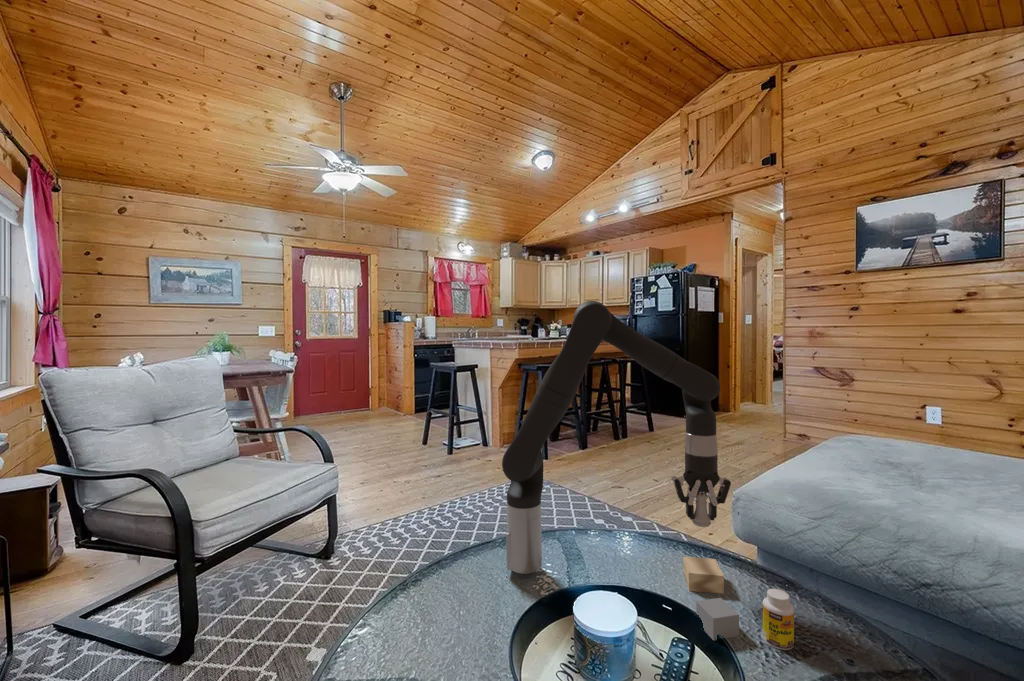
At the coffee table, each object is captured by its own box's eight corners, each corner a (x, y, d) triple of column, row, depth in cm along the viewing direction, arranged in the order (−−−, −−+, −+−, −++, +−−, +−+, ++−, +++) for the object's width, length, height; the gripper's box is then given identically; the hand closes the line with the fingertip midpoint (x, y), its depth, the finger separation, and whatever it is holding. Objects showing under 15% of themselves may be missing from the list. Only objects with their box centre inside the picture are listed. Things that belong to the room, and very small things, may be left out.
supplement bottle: (764, 648, 90) (764, 598, 90) (760, 631, 95) (760, 583, 95) (797, 655, 88) (797, 604, 88) (791, 637, 93) (790, 589, 93)
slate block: (713, 642, 92) (713, 618, 92) (696, 623, 98) (696, 601, 98) (739, 638, 94) (739, 614, 93) (720, 620, 99) (720, 597, 99)
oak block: (688, 592, 110) (688, 572, 110) (683, 575, 118) (683, 556, 118) (723, 596, 108) (723, 576, 108) (715, 578, 116) (715, 559, 116)
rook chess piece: (696, 518, 115) (696, 487, 115) (714, 523, 112) (713, 492, 112) (688, 523, 112) (688, 492, 112) (706, 529, 109) (706, 496, 108)
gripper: (675, 454, 109) (675, 524, 109) (736, 455, 107) (737, 526, 107) (667, 446, 116) (668, 511, 116) (725, 447, 114) (725, 513, 115)
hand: (701, 518), depth 112 cm, fingers closed on rook chess piece, 4 cm apart
